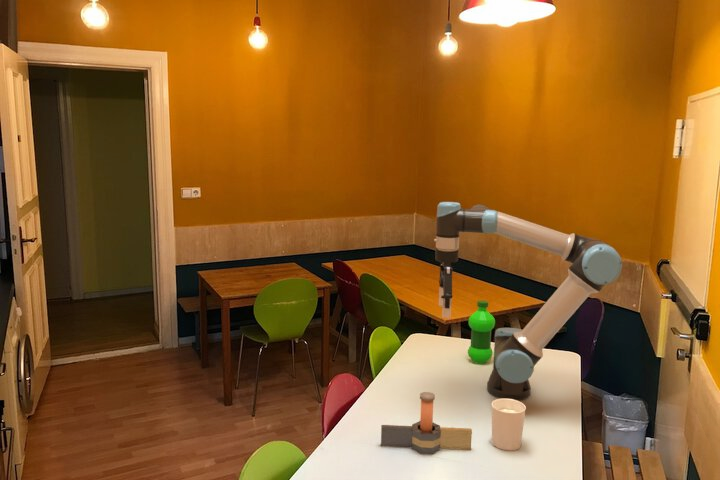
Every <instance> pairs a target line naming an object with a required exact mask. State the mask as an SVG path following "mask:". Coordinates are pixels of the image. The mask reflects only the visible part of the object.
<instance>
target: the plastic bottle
mask: <svg viewBox="0 0 720 480" xmlns="http://www.w3.org/2000/svg"><path fill="white" fill-rule="evenodd" d="M476 306H477V308H478V309H477V310H476V311H474V312H473V313H472V314H471V315H470V316H469V318H468V322H467V323H468V326H469V328H470V329H471V332H470V346H469V347H468V349H467V355H468V357H469V358H470V359H471V360H472V361H473V363H475V364H479V365H482V364H486V363H487V362H488V361H489V360H491V358H492V356H493V355H494V350H493V348H492V347H491V342H492V330H493V329H494V328H495V326H496V319H495V317H494V316H493V315H492V314H491V313H490V312H489V311H488V308H489V302H488V301H487V300H477V302H476Z"/></svg>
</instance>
